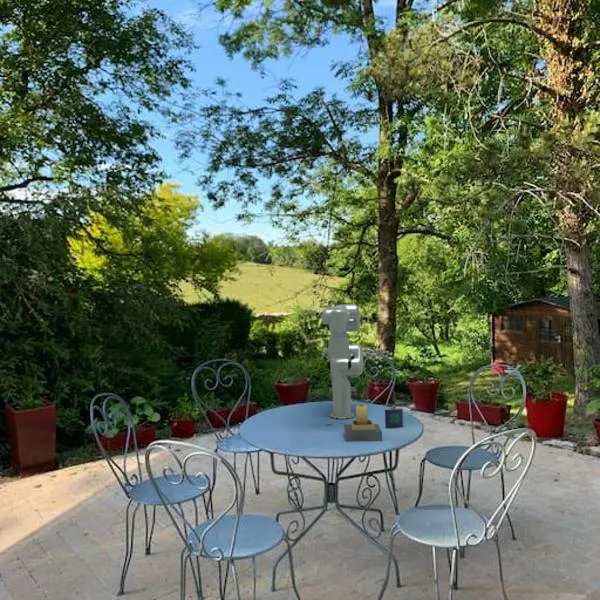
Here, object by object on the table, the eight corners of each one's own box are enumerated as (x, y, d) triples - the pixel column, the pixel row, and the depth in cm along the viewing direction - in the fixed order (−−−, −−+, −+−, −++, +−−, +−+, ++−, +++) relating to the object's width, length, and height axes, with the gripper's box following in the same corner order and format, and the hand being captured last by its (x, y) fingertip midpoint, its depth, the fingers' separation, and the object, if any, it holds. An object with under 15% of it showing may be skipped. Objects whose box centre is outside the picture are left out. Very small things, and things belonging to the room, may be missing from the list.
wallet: (401, 425, 261) (401, 403, 261) (404, 426, 258) (403, 405, 258) (384, 427, 259) (383, 405, 258) (387, 428, 256) (386, 406, 256)
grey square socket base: (344, 432, 250) (343, 419, 250) (378, 432, 250) (377, 418, 250) (346, 441, 236) (345, 426, 236) (382, 440, 236) (381, 426, 236)
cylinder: (356, 426, 245) (355, 402, 245) (367, 426, 245) (366, 402, 245) (357, 429, 240) (356, 404, 240) (368, 429, 240) (367, 404, 240)
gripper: (355, 333, 264) (356, 368, 264) (320, 334, 264) (321, 369, 265) (356, 335, 256) (357, 370, 257) (320, 335, 257) (321, 371, 257)
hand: (339, 369), depth 261 cm, fingers open, 9 cm apart
